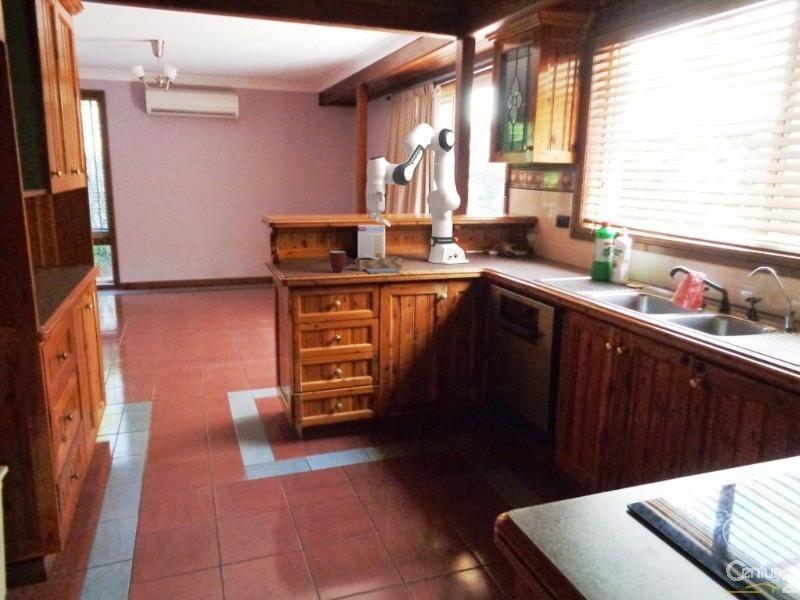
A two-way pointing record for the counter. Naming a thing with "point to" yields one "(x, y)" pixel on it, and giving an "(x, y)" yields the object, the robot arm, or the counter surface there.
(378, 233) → the cracker box
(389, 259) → the tan patterned box
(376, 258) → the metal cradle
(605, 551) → the counter surface
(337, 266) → the mug
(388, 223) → the birch bar
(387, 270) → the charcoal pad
